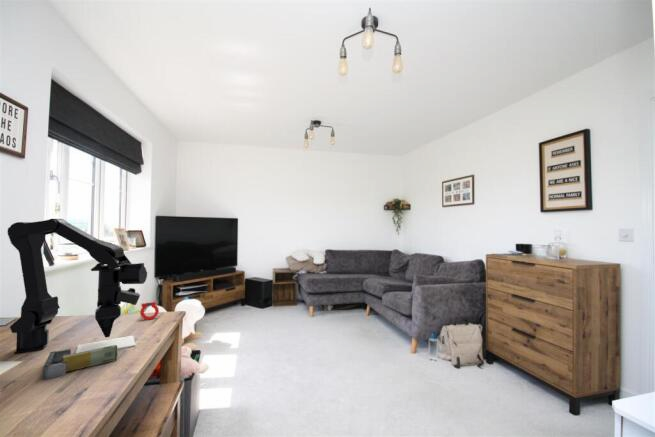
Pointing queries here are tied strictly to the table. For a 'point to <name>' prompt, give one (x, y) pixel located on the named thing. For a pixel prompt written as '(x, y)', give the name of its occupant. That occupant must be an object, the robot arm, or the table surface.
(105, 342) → the felt pad
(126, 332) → the table surface
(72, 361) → the medication box
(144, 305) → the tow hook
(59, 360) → the cradle stand
